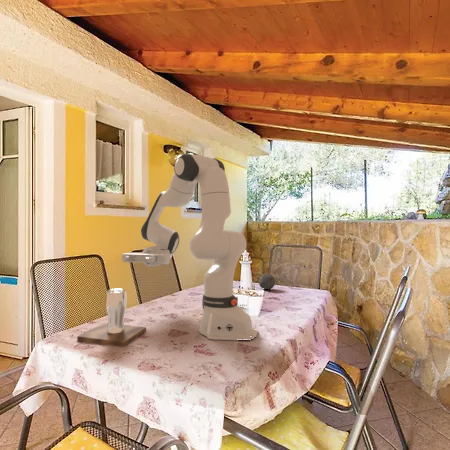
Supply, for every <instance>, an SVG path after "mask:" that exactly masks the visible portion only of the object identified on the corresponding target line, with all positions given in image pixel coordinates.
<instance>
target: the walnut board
mask: <svg viewBox="0 0 450 450" xmlns="http://www.w3.org/2000/svg"><path fill="white" fill-rule="evenodd" d="M107 329H108V322H103V323H101V324H99V325H97V326H95V327H94V328H92V329H89V330H87V331H85V332H83V333H81V334H79V335H78V336H77V337H76V338H77V339H76V340H77V341H78V342H86V343H94V344H101V345H110V346H118V347H126V346H127V345H128V344H130V343H131V342H133V341H134V340H135V339H137V338H139V337H140V336H141V335H143V334H144V333H146V332H147V327H146V326H138V325H128V324H127V325H126V324H124V329H125V331H124V333H121V334H117V335H111V334H108V333H107Z"/></svg>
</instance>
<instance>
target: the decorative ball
mask: <svg viewBox="0 0 450 450" xmlns="http://www.w3.org/2000/svg"><path fill="white" fill-rule="evenodd" d="M275 280H276V279H275V277H274V276H273V275H271V274H270V273H264V274H262V275H260V277H259V279H258V285H259V287H260V288H261V289H262V288H264V289H270V290H271V289H273V288H274V286H275V284H276V281H275ZM264 289H263V290H264Z"/></svg>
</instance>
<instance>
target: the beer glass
mask: <svg viewBox="0 0 450 450" xmlns="http://www.w3.org/2000/svg"><path fill="white" fill-rule="evenodd" d="M105 305H106V313H107V321H108V322H107V323H108V329H107V333H108V334H111V335H117V334H121V333H124V331H125V329H124V325H125V316H126V310H127V309H126V308H127V290H126V289H123V288H114V289H113V288H112V289H108V290H107V292H106V302H105Z"/></svg>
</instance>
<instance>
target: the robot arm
mask: <svg viewBox="0 0 450 450" xmlns="http://www.w3.org/2000/svg"><path fill="white" fill-rule="evenodd" d="M173 169H174V170H173V171H174V172H173V175H172V177H171V180H170V182H169V186H168V188H167V189H166V190H165V191H162V192H161V193H160V194H159V195H158V196H157V198H156V200H155V201H154V204H153V206H152V207H151V210H150V212H149V214H148V217H147V218H146V220H145V222H143V225H142V226H141V228H140V233H141V237H142V239H143V240H146V241H148V242H149V243H150V242H151V243H153V244H155V245H154V246H153V245H152V246H147V247H146V248H144V249H143V250H142V252H124V253H121V261H122V262H123V263H143V264H144V265H145V266H146V267H151V268H152V267H157V266H161V265H162V266H163V265H164V266H165V265H169V264H170V261H171V259H172V258H173V255H174V253H175V252H176V250H177V249H178V246H179V244H180V235H179V233H178V231H176V230H174V229H172V228H170V227H168V226H166V225H164V224H162V223H160V222H159V218H161V216H162V213H163V210H164V209H165V208H166V207H168V208H169V207H170V208H182V207H185V206H187V205H188V204H189V203H190V202H191V200H192V199H193V197H194V193H195V190H196V186H197V184H199V185H200V199H201V200H200V201H201V220H200V225H199V228H198V229H197V231H196V232H195V233H194V235H192V237H191V239H190V243H189V247H190V252H191V254H192V256H194V257H195V258H196V259H199V260H205V261H211V260H213V261H212V263H211V266H210V267H209V269H207V271H206V272H205V274H204V277H203V278H204V280H203V281H204V283H203V286H204V288H203V294H202V303H201V305H202V317H201V322H200V326H199V330H198V332H199V334H201V335H202V336H205V337H206V338H207V339H208V340H216V341H238V340H237V339H242V340H243V339H252V338H253V337H255V336H256V334H257V332H258V329H257V328H256V327H255V326H253V323H252V317H251V316H250V314H249V313H247V312H246V311H245V310H244V309H243V308H241V307H240V306H239V305H238V300H239V299H238V298H239V296H235V295H234V293H233V290H234V275H235V270H236V267H237V264H238V262H239V260H240V257H241V256H242V255H243V254H244V252H245V251H246V248H247V240H246V237H245V235H244V234H243V233H242V232H238V231H235V230H233V229H232V230H231V229H230V230H228V229H225V230H224V227H225V222H226V220H227V219H228V218H229V217H230V216H231V214H232V213H231V212H232V211H231V210H232V209H231V199H230V198H231V197H230V188H229V182H228V178H227V175H226V172H225V169H226V168H225V164H224V163H223V162H222V161H221V160H219V159H218V158H215V157H209V156H204V155H201V154H190V153H184V154H179V155H178V156H177V157H176V158H175V161H174V165H173ZM254 329H256V330H254ZM257 335H258V334H257ZM250 336H252V337H250ZM256 337H257V336H256Z"/></svg>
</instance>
